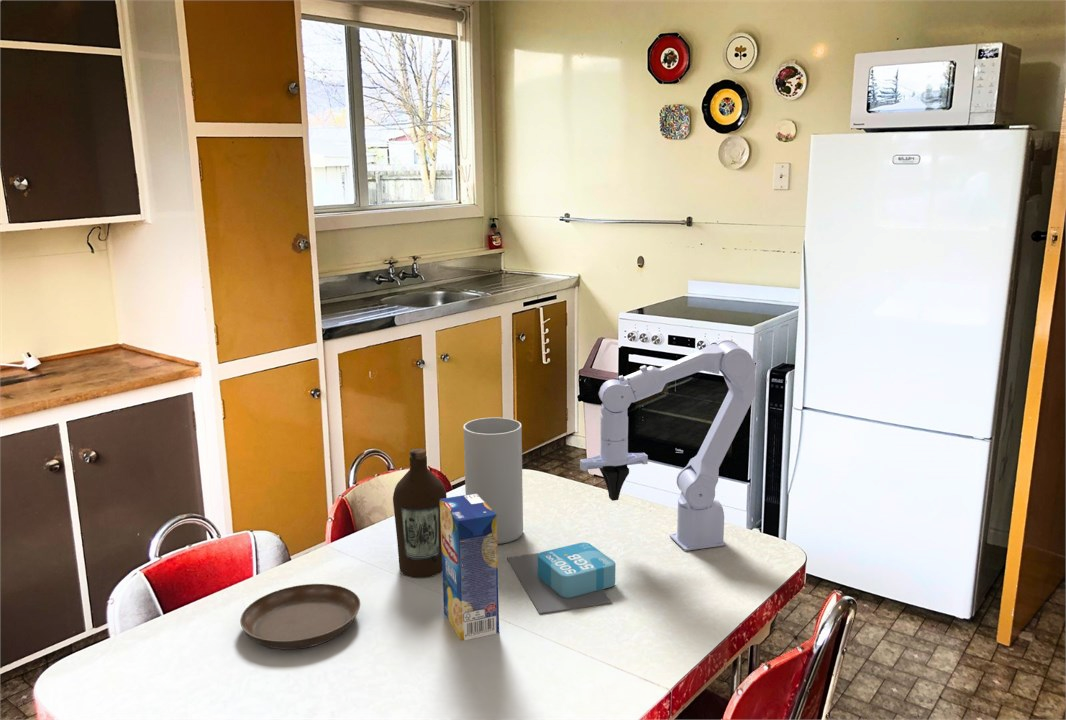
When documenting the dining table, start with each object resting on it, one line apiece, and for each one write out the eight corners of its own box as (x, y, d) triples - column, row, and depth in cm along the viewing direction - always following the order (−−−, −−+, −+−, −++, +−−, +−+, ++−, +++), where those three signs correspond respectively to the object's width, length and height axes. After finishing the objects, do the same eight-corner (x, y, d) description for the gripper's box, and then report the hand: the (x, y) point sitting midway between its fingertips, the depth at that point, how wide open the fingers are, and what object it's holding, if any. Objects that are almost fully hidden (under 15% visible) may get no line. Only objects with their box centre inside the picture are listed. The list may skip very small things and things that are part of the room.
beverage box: (479, 604, 160) (476, 493, 155) (499, 633, 150) (496, 514, 145) (443, 611, 158) (439, 498, 153) (461, 641, 148) (458, 521, 143)
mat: (571, 550, 182) (571, 548, 182) (611, 603, 160) (612, 601, 160) (507, 558, 179) (507, 557, 179) (539, 614, 156) (539, 613, 156)
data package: (618, 563, 165) (564, 577, 160) (618, 585, 166) (564, 600, 161) (586, 540, 176) (534, 553, 170) (586, 561, 176) (534, 574, 171)
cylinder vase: (458, 528, 194) (455, 422, 189) (509, 518, 199) (507, 414, 194) (479, 550, 183) (475, 437, 178) (532, 539, 188) (530, 429, 183)
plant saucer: (223, 623, 155) (222, 606, 154) (328, 587, 168) (327, 571, 167) (270, 672, 140) (269, 654, 139) (382, 629, 152) (381, 612, 152)
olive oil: (396, 558, 180) (391, 443, 174) (447, 554, 181) (443, 441, 176) (396, 581, 169) (389, 460, 164) (450, 577, 171) (445, 457, 165)
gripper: (639, 428, 185) (638, 488, 188) (575, 435, 182) (575, 495, 185) (652, 438, 179) (651, 499, 182) (586, 445, 175) (586, 507, 178)
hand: (613, 498), depth 183 cm, fingers closed
